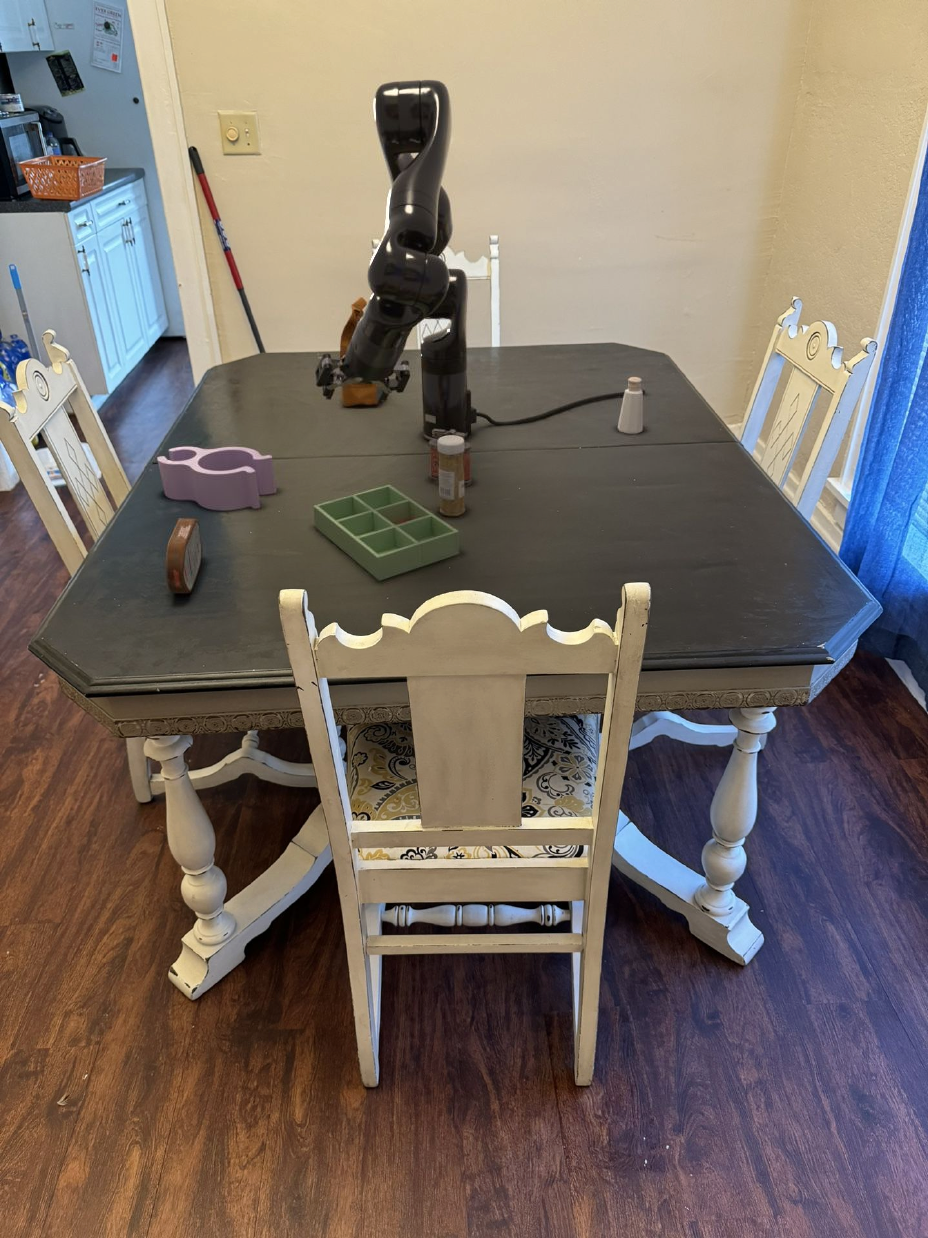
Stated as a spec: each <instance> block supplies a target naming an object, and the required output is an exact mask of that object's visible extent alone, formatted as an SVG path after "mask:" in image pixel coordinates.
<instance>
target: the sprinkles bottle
mask: <svg viewBox="0 0 928 1238" xmlns="http://www.w3.org/2000/svg"><path fill="white" fill-rule="evenodd" d="M464 442H465V439H463V438H462V437H460V436H455V435H448V436H443V437H441V438H439V439H438V441H437V448H438V451H439V452H438V453H439V483H438V489H439V490H438V491H439V505H440V507H439V513H440V514H442V515H443V516H445V517H450V518H451V517H458V516H461V515H464V513H465V511H466V508H465V486H464V466H463V462H464V461H463V453H464V449H465V445H464Z"/></svg>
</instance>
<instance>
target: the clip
mask: <svg viewBox="0 0 928 1238" xmlns="http://www.w3.org/2000/svg"><path fill="white" fill-rule="evenodd" d="M168 454H169V455H168V456H169V459H170V460H169V459H168V458H166V456H164V455H160V456H157V457H156V461H157V464H158V468H159V473H160V478H161V482H162V488H163V491H164V495H165V497H166V498H169V499H171V500H175V501H176V500H177V501H193V502H196V503H197V504H198V505H199V506H200V507H203V508H205V509H208V510H212V511H234V510H235V511H236V510H241V509H244V508H245V509H246V508H249V507H250V508H252V509H254V510H256V509H260V508H261V502H260V496H266V495H272V494H276V493H277V486H276V479H275V477H276V476H275V471H274V463H273V457H272V455H271V454H266V455H261V454H260V452H259V451H257V450H255V449H252V448H249V447H244V446H224V447H217V448H210V449H208V448H207V449H206V448H201V447H196V446H176V447H172V448H169V449H168Z"/></svg>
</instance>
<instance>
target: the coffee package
mask: <svg viewBox="0 0 928 1238" xmlns="http://www.w3.org/2000/svg"><path fill="white" fill-rule="evenodd" d="M367 305H368V301H366V299H365V298H364V297H358V299H356V301H354V303H351V304H350V306H351V307H350V308H351V311H352V312H351V314H350V315H349V318H348V320H347V321H346V323H345V325H344V326H343V328H342V332H341V335H340V342H339V360H340V359H341V358H342V357H344V356H345V355H346V352H347V349H348V346H349V344H350V341H351V339H352V336H353V334H354V332H355V329H356V327H357V324H358V322H359V321H360V319H361V318H362V317H363V314H364V312H365V311H364V308H366V307H367ZM346 378H347V377H346V376H345V379H346ZM340 388H341V401H342V405H343V406H344V407H354V406H355V407H356V406H372V405H378V404H379V403H377V399H376V391H377V389H378V387H377V386H376V385H375V384H373V383H372V384H365V383H352V384H350V385H348V386H346V387H341V386H340Z"/></svg>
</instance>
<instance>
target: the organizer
mask: <svg viewBox="0 0 928 1238" xmlns="http://www.w3.org/2000/svg"><path fill="white" fill-rule="evenodd" d="M312 507H313V516H314V523H315V524H314V525H315V528H316V529H317V530H318V531H319V532H320V533H322V535H324V536H325V537H326V538H327V539H329V540H330V541H331V542H332V543H334V545H336V546H337V547H338V548H339V549H341V550H342V551H343V552H344V553H346V554H347V556H349V557H350V558H352V559H353V560H354V561H355V562H356V563H357V564H359V566H361V568H363V569H364V570H366V571H367V572H368V573H370V574H371V575H372V576H373V578H375V579H376V580H377V581H383V580H386V579H388V578H391V577H395V576H398V575H402V574H404V573H407V572H409V571H413V570H416V569H418V568H422V567H425V566H428V565H430V564H433V563H437V562H439V561H442V560H446V559H449V558H451V557H454V556H458V555H459V554H460V531H459V530H457V529H456V528H454V527H453V526H451V524H449V523H447V522H445V521H444V520H443V519H441V518H440V517H438V516H437V515H435V514H434V513H432V512H431V511H429V510H428V509H426V508H425V507H423V506H422V505H420V504H419V503H417V502H416V501H414V500H413V499H411V498H410V497H409V496H407V495H406V494H404V493H402V492H401V491H400V490H398V489H397V488H395V487H394V486H392V485H390V484H387V485H382V486H379V487H376V488H373V489H369V490H365V491H362V492H358V493H355V494H351V495H347V496H344V497H340V498H336V499H333V500H332V499H331V500H329V501H325V502H321V503H319V504H315V505H313V506H312Z"/></svg>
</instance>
